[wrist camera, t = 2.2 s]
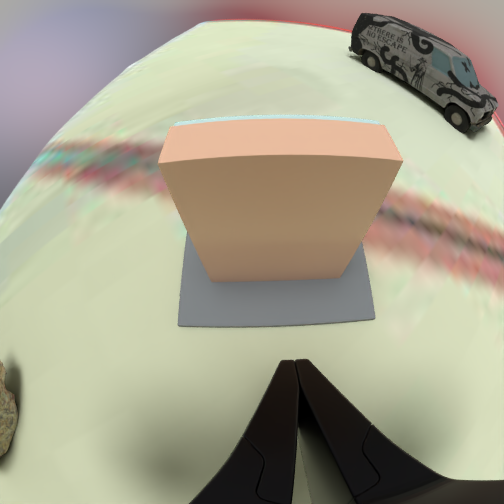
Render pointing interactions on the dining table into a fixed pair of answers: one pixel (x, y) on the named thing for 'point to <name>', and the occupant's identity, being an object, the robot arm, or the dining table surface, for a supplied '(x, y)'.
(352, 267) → the mat
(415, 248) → the dining table surface
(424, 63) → the toy car
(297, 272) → the block
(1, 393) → the rock
